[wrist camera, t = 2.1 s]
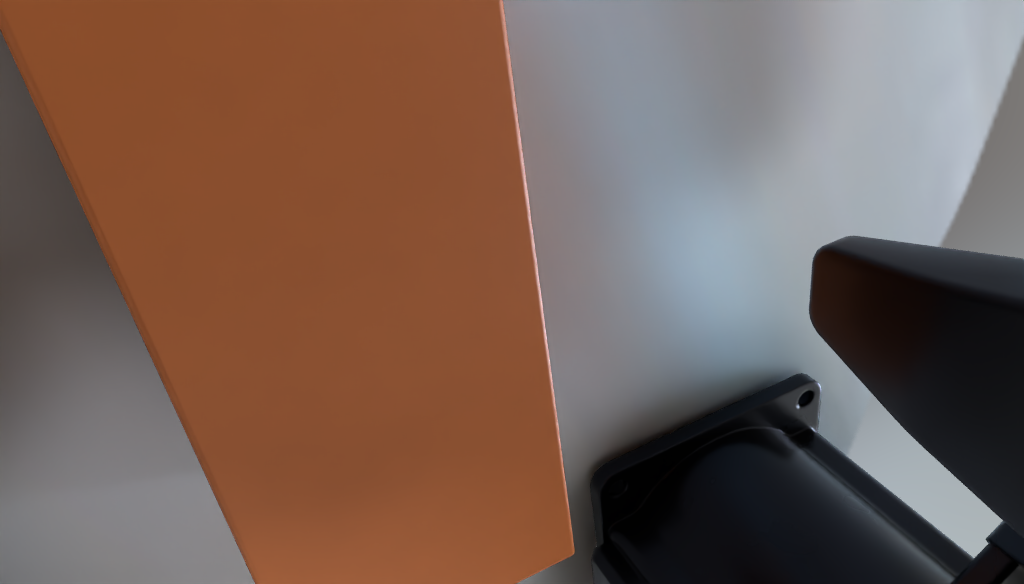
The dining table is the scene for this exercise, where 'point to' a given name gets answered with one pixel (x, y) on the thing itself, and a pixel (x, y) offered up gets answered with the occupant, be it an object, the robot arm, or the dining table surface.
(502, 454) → the eraser
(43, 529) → the dining table surface
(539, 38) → the dining table surface
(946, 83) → the dining table surface
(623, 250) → the dining table surface
